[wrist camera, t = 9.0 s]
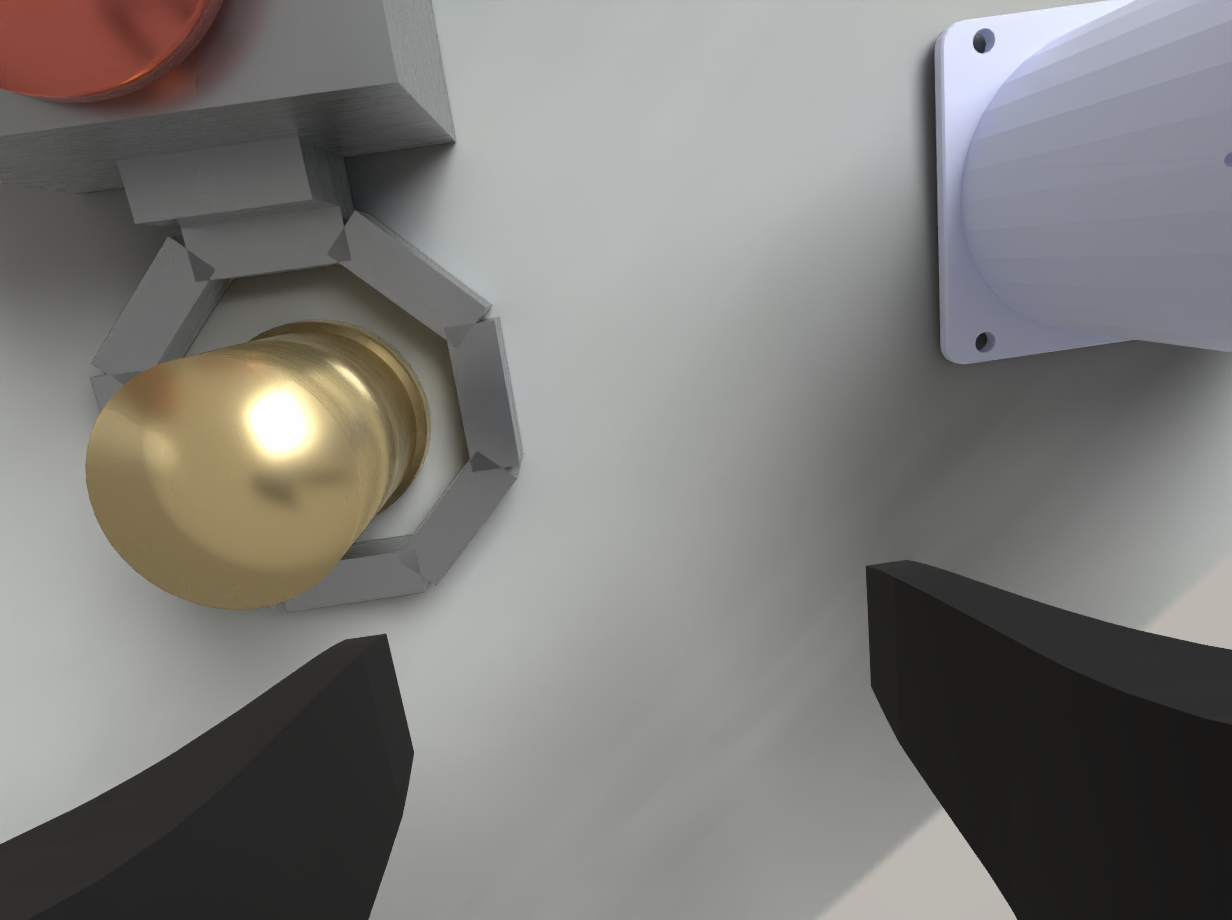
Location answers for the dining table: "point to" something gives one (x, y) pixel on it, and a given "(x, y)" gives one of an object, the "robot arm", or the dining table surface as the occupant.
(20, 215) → the dining table surface
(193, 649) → the dining table surface
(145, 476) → the knob
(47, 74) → the red button switch
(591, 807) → the dining table surface
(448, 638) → the dining table surface
